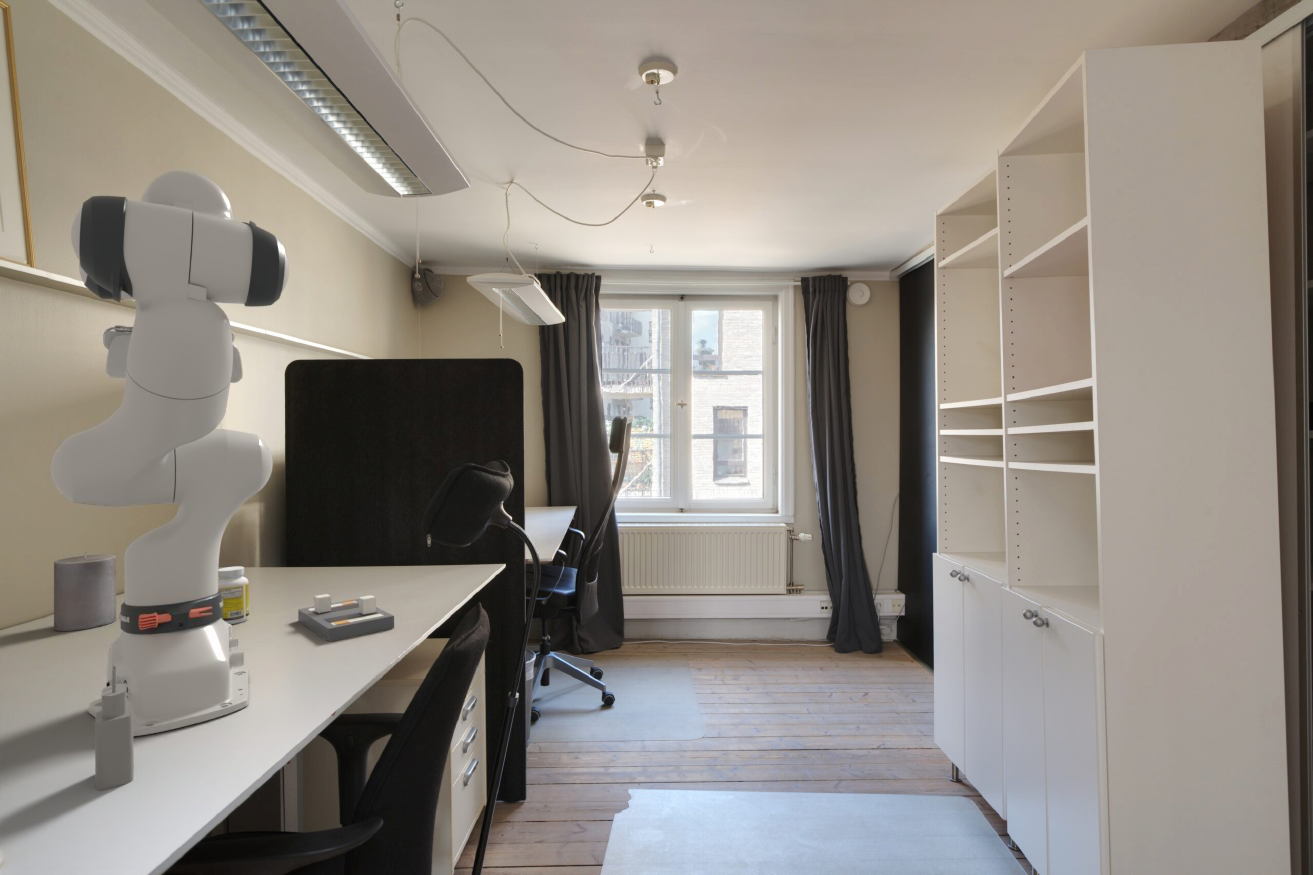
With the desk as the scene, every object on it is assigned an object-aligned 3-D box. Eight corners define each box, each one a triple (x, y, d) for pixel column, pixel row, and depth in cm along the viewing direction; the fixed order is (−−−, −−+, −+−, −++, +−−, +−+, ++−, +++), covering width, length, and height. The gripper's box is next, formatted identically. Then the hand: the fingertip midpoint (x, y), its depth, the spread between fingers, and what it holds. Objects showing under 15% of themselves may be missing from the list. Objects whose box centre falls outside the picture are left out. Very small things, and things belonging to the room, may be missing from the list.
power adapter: (133, 762, 74) (132, 658, 74) (133, 781, 69) (131, 671, 69) (97, 771, 72) (96, 664, 72) (95, 792, 67) (93, 678, 67)
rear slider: (331, 610, 130) (330, 595, 130) (318, 613, 128) (318, 598, 128) (327, 608, 132) (327, 593, 132) (314, 610, 130) (314, 595, 130)
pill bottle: (230, 617, 136) (229, 565, 136) (256, 617, 136) (255, 565, 136) (205, 625, 130) (205, 571, 130) (233, 626, 129) (232, 571, 129)
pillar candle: (65, 622, 135) (64, 550, 135) (123, 615, 139) (122, 546, 139) (44, 634, 126) (43, 558, 126) (107, 627, 130) (106, 553, 130)
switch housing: (394, 627, 126) (394, 615, 126) (328, 641, 118) (328, 628, 118) (358, 609, 141) (358, 598, 141) (298, 620, 132) (298, 608, 132)
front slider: (375, 612, 128) (375, 597, 128) (363, 614, 127) (363, 599, 127) (371, 609, 130) (371, 595, 130) (358, 612, 129) (358, 597, 129)
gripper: (104, 321, 109) (105, 401, 109) (244, 333, 123) (245, 405, 123) (101, 326, 114) (102, 404, 114) (237, 338, 128) (238, 407, 128)
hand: (178, 404), depth 119 cm, fingers open, 8 cm apart
